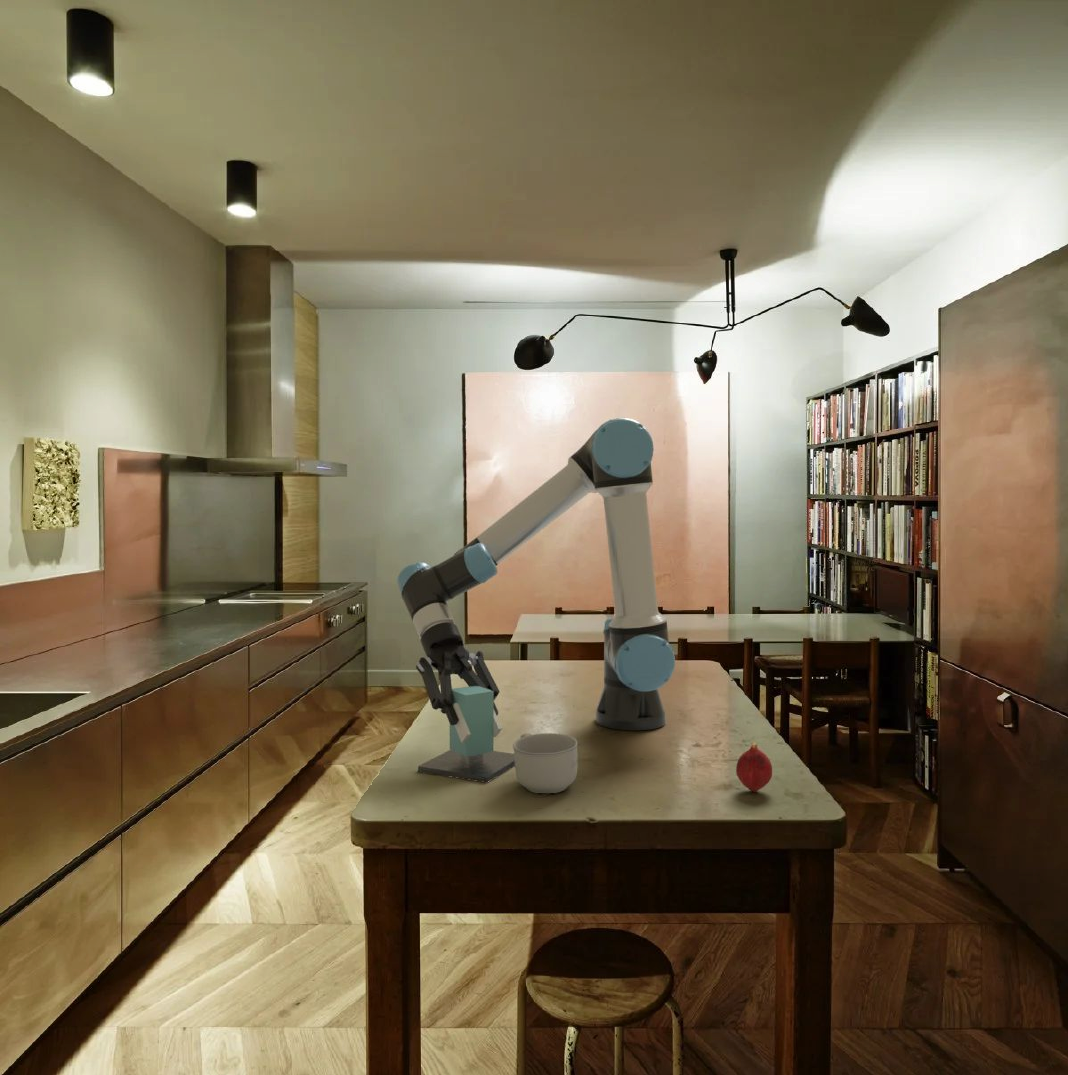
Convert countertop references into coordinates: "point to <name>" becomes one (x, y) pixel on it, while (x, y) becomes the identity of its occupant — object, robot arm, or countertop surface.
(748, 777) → the onion
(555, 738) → the teacup
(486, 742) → the teal upright box
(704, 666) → the countertop surface
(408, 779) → the countertop surface
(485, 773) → the gray square peg stand
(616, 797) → the countertop surface
